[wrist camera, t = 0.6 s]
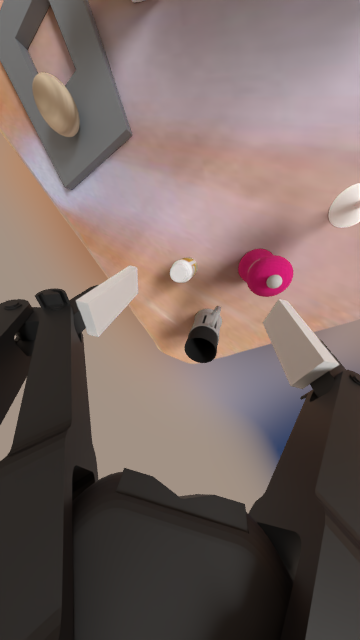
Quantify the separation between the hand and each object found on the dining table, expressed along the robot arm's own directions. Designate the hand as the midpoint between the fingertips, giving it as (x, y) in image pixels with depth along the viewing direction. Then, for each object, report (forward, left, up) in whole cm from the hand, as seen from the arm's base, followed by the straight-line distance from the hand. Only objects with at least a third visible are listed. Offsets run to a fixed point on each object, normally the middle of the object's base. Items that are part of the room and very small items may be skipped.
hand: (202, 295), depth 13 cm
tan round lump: (-15, -42, -22) cm, 50 cm away
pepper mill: (-3, +8, -28) cm, 29 cm away
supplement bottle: (+4, -7, -28) cm, 29 cm away
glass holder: (+14, +5, -28) cm, 32 cm away
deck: (-19, -45, -28) cm, 56 cm away
